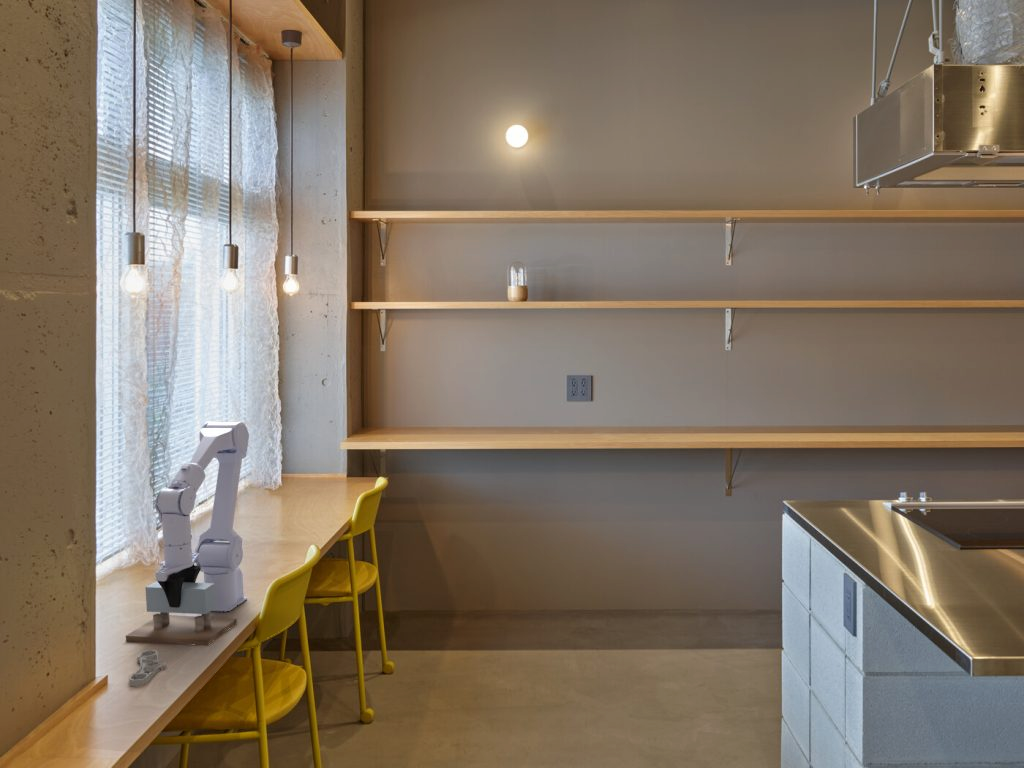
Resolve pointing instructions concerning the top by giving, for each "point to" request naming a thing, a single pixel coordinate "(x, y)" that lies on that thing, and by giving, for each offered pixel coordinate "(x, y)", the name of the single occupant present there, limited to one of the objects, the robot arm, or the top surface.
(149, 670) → the bracket
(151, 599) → the pale blue rectangular block
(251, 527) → the top surface
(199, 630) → the peg stand
